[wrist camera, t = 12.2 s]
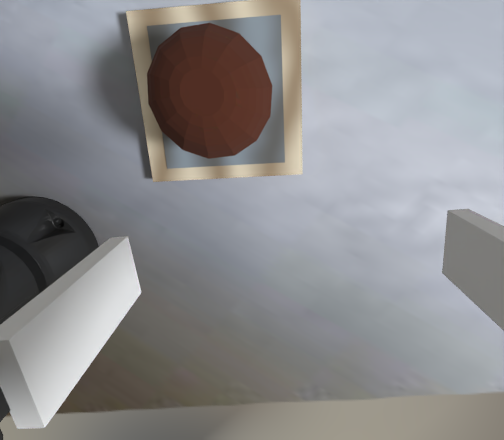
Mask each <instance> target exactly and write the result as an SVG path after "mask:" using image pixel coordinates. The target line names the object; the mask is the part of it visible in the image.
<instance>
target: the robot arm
mask: <svg viewBox="0 0 504 440" xmlns="http://www.w3.org/2000/svg"><path fill="white" fill-rule="evenodd" d="M442 273H443V274H444V275H445V276H446V277H447V278H448V279H449V280H450V281H451V282H452V283H453V284H454V285H456V286H457V287H458V288H459V289H460V290H461V291H462V292H463V293H464V294H465V295H466V296H467V297H468V298H469V299H470V300H472V301H473V302H474V303H475V304H476V305H477V306H478V307H479V308H480V309H481V310H482V311H483V312H484V313H485V314H486V315H488V316H489V317H490V318H491V319H492V320H493V321H494V322H495V323H496V324H497V325H498V326H499V327H500V328H501V329H502V330H504V226H502V225H500V224H498V223H496V222H494V221H492V220H490V219H488V218H486V217H484V216H482V215H480V214H478V213H476V212H474V211H472V210H470V209H460V210H448V213H447V224H446V236H445V247H444V258H443V269H442ZM140 294H141V289H140V285H139V281H138V277H137V272H136V268H135V264H134V260H133V256H132V252H131V247H130V243H129V239H128V236H125V237H113V238H110V239H108V240H107V241H106V242H105V243H103V244H102V245H101V246H100V247H99V246H98V243H97V240H96V238H95V236H94V234H93V232H92V231H91V229H90V228H89V226H88V225H87V224H86V222H85V221H84V220H83V219H82V218H81V217H80V216H79V215H78V214H77V213H75V212H74V211H73V210H71V209H70V208H68V207H67V206H65V205H63V204H61V203H59V202H56V201H53V200H50V199H46V198H40V197H27V198H22V199H18V200H15V201H12V202H10V203H7V204H4V205H2V206H0V422H1V420H2V419H3V418H4V417H5V416H6V415H7V414H8V412H9V411H10V413H11V416H12V418H13V420H14V422H15V424H16V427H17V429H23V428H45V427H46V425H47V424H48V423H49V421H50V420H51V418H52V417H53V416H54V414H55V413H56V412H57V410H58V409H59V407H60V406H61V405H62V403H63V402H64V400H65V399H66V398H67V396H68V395H69V393H70V392H71V391H72V389H73V388H74V386H75V385H76V383H77V382H78V381H79V379H80V378H81V376H82V375H83V374H84V372H85V371H86V369H87V368H88V367H89V365H90V364H91V362H92V361H93V360H94V358H95V357H96V355H97V354H98V353H99V351H100V350H101V348H102V347H103V346H104V344H105V343H106V341H107V340H108V339H109V337H110V336H111V334H112V333H113V332H114V330H115V329H116V327H117V326H118V325H119V323H120V322H121V320H122V319H123V318H124V316H125V315H126V313H127V312H128V311H129V309H130V308H131V306H132V305H133V304H134V302H135V301H136V299H137V298H138V297H139V295H140ZM0 440H3V434H2V432H1V429H0Z"/></svg>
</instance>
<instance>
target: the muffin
mask: <svg viewBox="0 0 504 440" xmlns="http://www.w3.org/2000/svg"><path fill="white" fill-rule="evenodd" d="M147 85H148V104H149V106H150V108H151V110H152V112H153V114H154V117H155V119H156V121H157V123H158V125H159V127H160V129H161V131H162V132H163V133H164V134H165V135H166V136H168V137H169V138H170V139H171V140H172V141H173V142H174V143H175V144H176V145H178V146H179V147H180V148H181V149H182V150H184V151H187V152H190V153H193V154H196V155H199V156H202V157H205V158H208V159H211V158H219V157H227V156H235V155H236V154H238V153H239V152H241V151H242V150H244V149H245V148H247V147H248V146H250V145H251V144H253V143H254V142H255V141H257V139H258V138H259V136H260V134H261V132H262V130H263V129H264V127H265V125H266V123H267V121H268V120H269V118H270V115H271V100H272V83H271V81H270V78H269V75H268V72H267V70H266V67H265V64H264V62H263V59H262V56H261V55H260V54H259V53H258V52H257V51H256V50H255V49H254V48H253V47H252V46H251V45H250V44H249V43H248V42H247V41H246V40H245V39H244V38H243V37H242V36H241V34H240V33H237V32H235V31H232V30H229V29H226V28H223V27H221V26H218V25H215V24H212V23H205V24H199V25H193V26H187V27H181V28H180V29H178V30H177V31H176V32H175V33H173V34H172V35H171V36H170V37H169V38H167V39H166V40H165V41H164V42H163V43H161V44H160V45H159V46H158V48H157V50H156V53H155V55H154V58H153V60H152V62H151V65H150V67H149V70H148V72H147Z"/></svg>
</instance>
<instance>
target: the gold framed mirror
mask: <svg viewBox="0 0 504 440" xmlns="http://www.w3.org/2000/svg"><path fill="white" fill-rule="evenodd" d="M126 15H127V21H128V27H129V34H130V40H131V46H132V52H133V59H134V65H135V71H136V77H137V84H138V90H139V96H140V103H141V109H142V115H143V121H144V128H145V134H146V140H147V146H148V153H149V159H150V165H151V171H152V178H153V182H159V181H178V180H198V179H217V178H237V177H257V176H276V175H296V174H302V98H301V14H300V0H249V1H237V2H226V3H215V4H203V5H192V6H180V7H169V8H158V9H146V10H135V11H126ZM205 23H212V24H215V25H218V26H221V27H223V28H226V29H229V30H232V31H235V32H237V33H240V34H241V36H242V37H243V38H244V39H245V40H246V41H247V42H248V43H249V44H250V45H251V46H252V47H253V48H254V49H255V50H256V51H257V52H258V53H259V54H260V55H261V56H262V59H263V62H264V64H265V67H266V70H267V72H268V75H269V78H270V81H271V83H272V100H271V115H270V118H269V120H268V121H267V123H266V125H265V127H264V129H263V130H262V132H261V134H260V136H259V138H258V139H257V141H255V142H254V143H253V144H251V145H250V146H248V147H247V148H245V149H244V150H242V151H241V152H239V153H238V154H236V155H235V156H227V157H219V158H211V159H208V158H205V157H202V156H199V155H196V154H193V153H190V152H187V151H184V150H182V149H181V148H180V147H179V146H178V145H176V144H175V143H174V142H173V141H172V140H171V139H170V138H169V137H168V136H166V135H165V134H164V133H163V132H162V131H161V129H160V127H159V125H158V123H157V121H156V119H155V117H154V114H153V112H152V110H151V108H150V106H149V104H148V85H147V72H148V70H149V67H150V65H151V62H152V60H153V58H154V55H155V53H156V50H157V48H158V46H159V45H160V44H161V43H163V42H164V41H165V40H166V39H167V38H169V37H170V36H171V35H172V34H173V33H175V32H176V31H177V30H178V29H180V28H181V27H187V26H193V25H199V24H205Z"/></svg>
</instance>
